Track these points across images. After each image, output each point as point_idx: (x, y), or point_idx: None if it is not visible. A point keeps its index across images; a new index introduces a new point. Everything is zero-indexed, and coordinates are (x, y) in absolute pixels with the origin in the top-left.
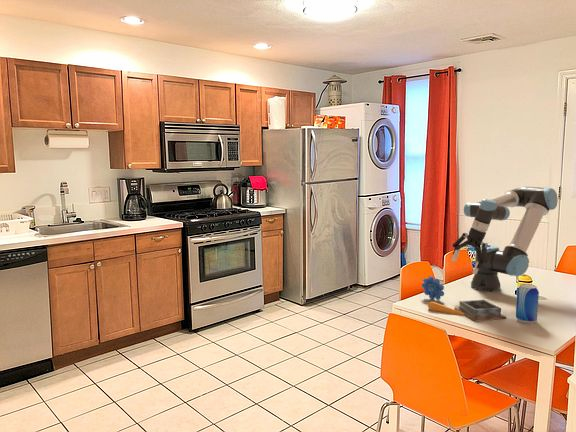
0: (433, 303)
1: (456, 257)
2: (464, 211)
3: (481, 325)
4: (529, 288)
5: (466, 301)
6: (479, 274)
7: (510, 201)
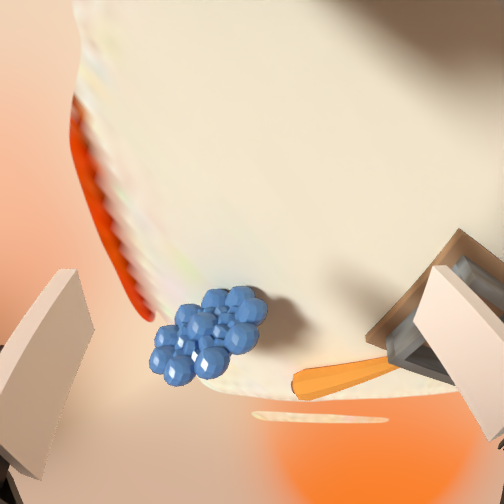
0: (312, 399)
1: (54, 329)
2: None
3: None
4: None
5: (413, 349)
6: None
7: None
